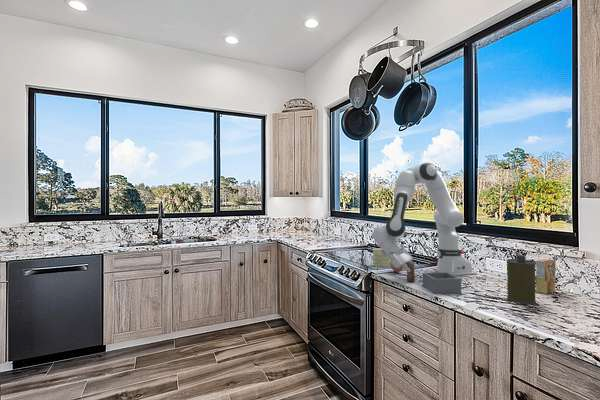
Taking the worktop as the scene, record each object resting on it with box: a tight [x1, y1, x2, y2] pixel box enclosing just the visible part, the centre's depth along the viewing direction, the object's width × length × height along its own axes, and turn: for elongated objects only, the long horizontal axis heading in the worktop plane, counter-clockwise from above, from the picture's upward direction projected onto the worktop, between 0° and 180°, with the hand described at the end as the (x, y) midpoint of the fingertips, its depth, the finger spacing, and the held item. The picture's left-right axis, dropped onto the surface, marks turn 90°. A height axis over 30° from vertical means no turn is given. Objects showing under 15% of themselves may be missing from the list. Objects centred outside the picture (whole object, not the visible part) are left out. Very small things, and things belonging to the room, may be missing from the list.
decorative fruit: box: [389, 261, 405, 273], centre depth 190 cm, size 9×8×10 cm
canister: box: [506, 254, 537, 305], centre depth 136 cm, size 11×10×20 cm
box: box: [372, 247, 391, 268], centre depth 208 cm, size 10×6×12 cm, turn 84°
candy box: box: [535, 258, 556, 295], centre depth 148 cm, size 9×4×15 cm, turn 116°
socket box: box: [422, 271, 462, 295], centre depth 153 cm, size 13×13×7 cm
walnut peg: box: [406, 261, 416, 283], centre depth 169 cm, size 4×4×10 cm
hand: (411, 270), depth 168 cm, fingers closed on walnut peg, 4 cm apart
